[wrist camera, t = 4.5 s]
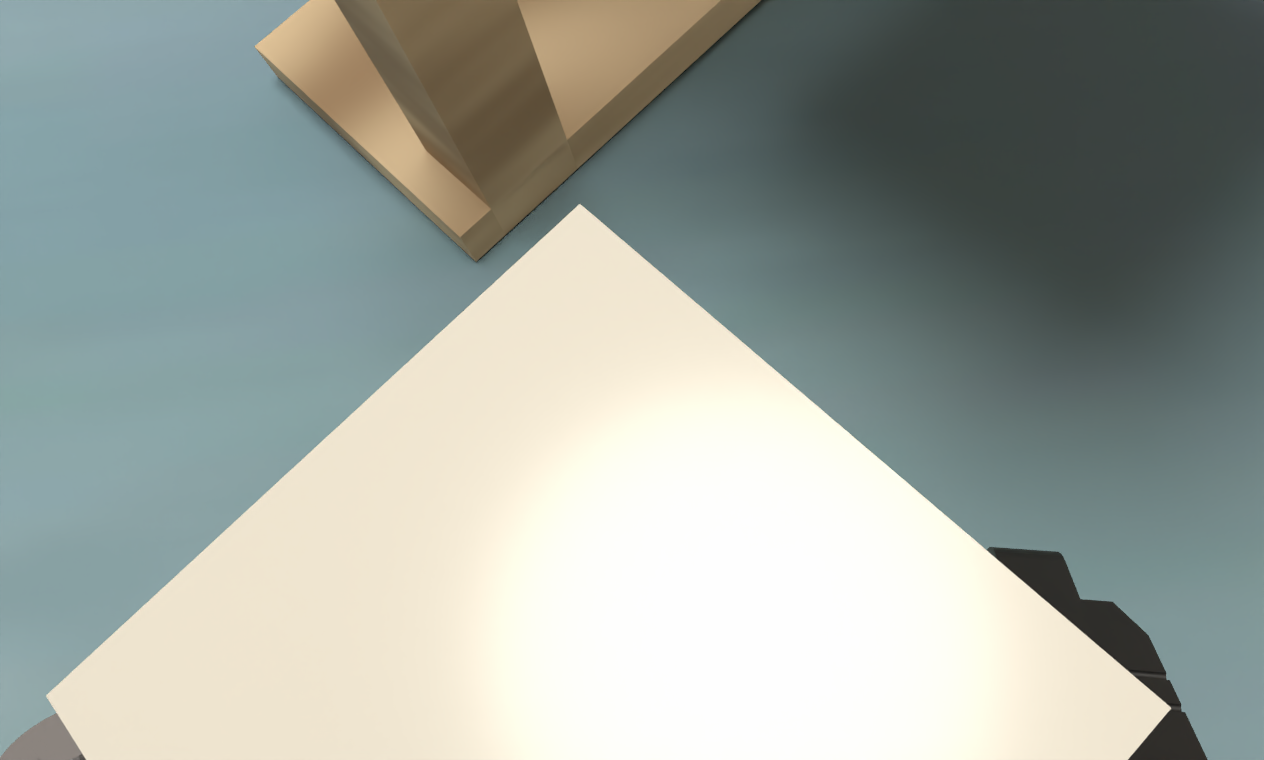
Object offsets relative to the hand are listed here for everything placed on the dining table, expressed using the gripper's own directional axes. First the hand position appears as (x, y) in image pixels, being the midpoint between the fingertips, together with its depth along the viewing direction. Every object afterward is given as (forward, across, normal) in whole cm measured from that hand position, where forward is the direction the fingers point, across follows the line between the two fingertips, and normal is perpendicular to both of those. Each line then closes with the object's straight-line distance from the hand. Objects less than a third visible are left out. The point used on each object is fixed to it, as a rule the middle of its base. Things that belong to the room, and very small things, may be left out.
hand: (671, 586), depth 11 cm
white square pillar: (+2, 0, +4) cm, 5 cm away
